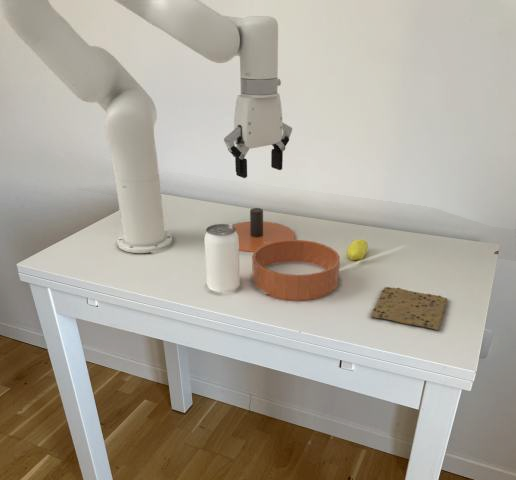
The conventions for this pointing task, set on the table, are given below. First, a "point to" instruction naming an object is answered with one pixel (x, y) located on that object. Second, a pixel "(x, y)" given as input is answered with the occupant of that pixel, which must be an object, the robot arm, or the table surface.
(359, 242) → the lemon
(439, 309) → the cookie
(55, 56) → the robot arm
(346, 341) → the table surface
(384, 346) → the table surface
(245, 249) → the lid
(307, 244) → the pot
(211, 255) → the can
